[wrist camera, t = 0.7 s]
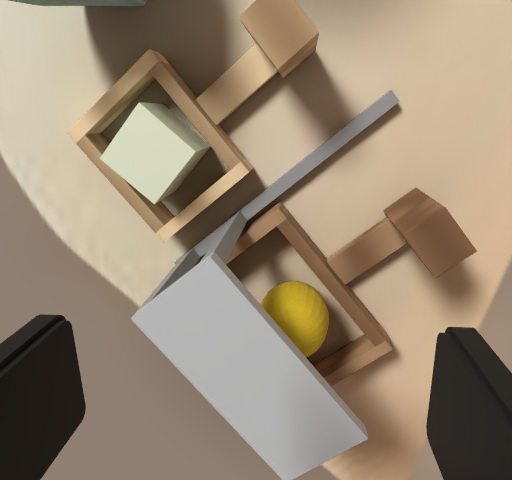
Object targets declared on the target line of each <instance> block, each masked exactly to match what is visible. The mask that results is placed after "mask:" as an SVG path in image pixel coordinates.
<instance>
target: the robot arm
mask: <svg viewBox="0 0 512 480" xmlns="http://www.w3.org/2000/svg"><path fill="white" fill-rule="evenodd" d="M85 408H86V406H85V400H84V394H83V388H82V382H81V376H80V371H79V365H78V359H77V353H76V347H75V342H74V336H73V330H72V325H71V323H70V322H69V321H66V319H65V317H64V316H62V315H38V316H36V317H35V318H34V319H32V320H31V321H30V322H28V323H27V324H26V325H24V326H23V327H22V328H21V329H19V330H18V331H17V332H15V333H14V334H13V335H11V336H10V337H9V338H7V339H6V340H5V341H4V342H2V343H1V344H0V480H40V479H41V478H42V476H43V475H44V474H45V472H46V471H47V469H48V468H49V466H50V465H51V464H52V462H53V461H54V460H55V458H56V457H57V455H58V454H59V452H60V451H61V450H62V448H63V447H64V445H65V444H66V443H67V441H68V440H69V438H70V437H71V436H72V434H73V433H74V431H75V430H76V428H77V427H78V426H79V424H80V423H81V422H82V420H83V418H84V415H85ZM427 436H428V440H429V443H430V446H431V448H432V451H433V454H434V456H435V459H436V461H437V464H438V466H439V469H440V471H441V474H442V477H443V479H444V480H512V373H511V372H510V371H509V370H508V368H507V367H506V366H505V365H504V363H503V362H502V361H501V360H500V358H499V357H498V356H497V355H496V354H495V352H494V351H493V350H492V349H491V348H490V346H489V345H488V344H487V343H486V341H485V340H484V339H483V338H482V336H481V335H480V334H479V333H478V331H477V330H476V329H475V328H464V327H448V328H447V329H446V331H445V333H439V334H438V337H437V343H436V352H435V360H434V368H433V376H432V384H431V393H430V401H429V409H428V417H427Z"/></svg>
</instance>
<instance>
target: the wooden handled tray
mask: <svg viewBox="0 0 512 480" xmlns="http://www.w3.org/2000/svg"><path fill="white" fill-rule="evenodd" d="M384 212H385V214H386V215H387V216H388V217H386V218H385V219H383V220H382V221H380V222H379V223H377V224H376V225H375V226H373V227H372V228H370V229H369V230H367V231H366V232H365V233H363V234H362V235H360V236H359V237H357V238H356V239H355V240H353V241H352V242H350V243H349V244H347V245H346V246H345V247H343V248H342V249H340V250H339V251H337V252H336V253H335V254H333V255H332V256H330V257H329V258H327V259H326V257H325V256H324V255H323V254H322V252H321V251H320V250H319V249H318V247H317V246H316V245H315V244H314V242H313V241H312V240H311V239H310V237H309V236H308V235H307V234H306V233H305V231H304V230H303V229H302V228H301V226H300V225H299V224H298V223H297V221H296V220H295V219H294V218H293V216H292V215H291V214H290V213H289V211H288V210H287V209H286V208H285V206H284V205H283V204H282V203H281V202H279V203H277V204H276V205H275V206H274V207H272V208H271V209H270V210H268V211H267V212H266V213H265V214H263V215H262V216H261V217H259V218H258V219H257V220H256V221H254V222H253V223H252V224H250V225H249V226H248V227H247V228H245V229H244V230H243V231H242V232H241V234H240V236H239V238H238V240H237V242H236V244H235V246H234V248H233V250H232V252H231V254H230V256H229V258H228V260H227V262H226V264H227V263H229V262H230V261H231V260H233V259H234V258H235V257H237V256H238V255H239V254H241V253H242V252H243V251H245V250H246V249H247V248H248V247H250V246H251V245H252V244H254V243H255V242H256V241H258V240H259V239H260V238H262V237H263V236H264V235H266V234H267V233H268V232H270V231H271V230H272V229H274V228H275V227H276V226H277V228H278V229H279V230H280V231H281V232H282V234H283V235H284V236H285V237H286V239H287V240H288V241H289V242H290V243H291V245H292V246H293V247H294V248H295V250H296V251H297V252H298V253H299V254H300V256H301V257H302V258H303V259H304V261H305V262H306V263H307V264H308V265H309V267H310V268H311V269H312V270H313V272H314V273H315V274H316V275H317V276H318V278H319V279H320V280H321V281H322V282H323V284H324V285H325V286H326V287H327V289H328V290H329V291H330V292H331V293H332V295H333V296H334V297H335V298H336V300H337V301H338V302H339V303H340V304H341V306H342V307H343V308H344V309H345V311H346V312H347V313H348V314H349V315H350V317H351V318H352V319H353V320H354V322H355V323H356V324H357V325H358V326H359V328H360V329H361V330H362V331H363V333H364V335H363V336H361V337H360V338H358V339H356V340H355V341H353V342H351V343H350V344H348V345H347V346H345V347H343V348H342V349H340V350H339V351H337V352H335V353H334V354H332V355H330V356H329V357H327V358H326V359H324V360H322V361H321V362H319V363H318V364H316V365H314V368H315V369H316V370H317V371H318V372H319V373H320V375H321V376H322V377H323V378H324V379H325V380H326V381H327V383H328V384H329V385H330V386H332V385H334V384H335V383H337V382H339V381H340V380H342V379H344V378H345V377H347V376H349V375H351V374H352V373H354V372H356V371H357V370H359V369H361V368H362V367H364V366H366V365H367V364H369V363H371V362H372V361H374V360H376V359H377V358H379V357H381V356H383V355H384V354H386V353H388V352H389V351H391V350H393V349H392V346H391V343H390V341H389V338H388V336H387V333H386V332H385V331H384V329H383V328H382V327H381V326H380V324H379V323H378V322H377V321H376V319H375V318H374V317H373V316H372V314H371V313H370V312H369V311H368V309H367V308H366V307H365V306H364V304H363V303H362V302H361V301H360V300H359V298H358V297H357V296H356V295H355V293H354V292H353V291H352V290H351V288H350V287H349V286H348V285H347V283H348V282H350V281H351V280H353V279H354V278H356V277H357V276H359V275H360V274H362V273H363V272H365V271H366V270H368V269H369V268H371V267H372V266H374V265H375V264H377V263H378V262H380V261H381V260H383V259H384V258H386V257H387V256H389V255H390V254H392V253H393V252H395V251H396V250H398V249H399V248H401V247H402V246H404V245H405V244H407V243H408V244H409V245H410V247H411V248H412V249H413V250H414V252H415V253H416V254H417V256H418V257H419V258H420V259H421V261H422V262H423V263H424V264H425V266H426V267H427V268H428V269H429V271H430V272H431V273H432V274H433V276H434V277H435V278H436V277H437V276H439V275H440V274H442V273H443V272H445V271H447V270H448V269H450V268H451V267H453V266H455V265H456V264H458V263H459V262H461V261H463V260H464V259H466V258H467V257H469V256H471V255H472V254H474V253H475V252H477V250H476V249H475V248H474V246H473V245H472V244H471V242H470V241H469V239H468V238H467V237H466V235H465V234H464V232H463V231H462V230H461V228H460V227H459V226H458V224H457V223H456V221H455V220H454V219H453V217H452V216H451V214H450V213H449V212H448V210H447V209H446V208H445V207H444V206H442V205H441V204H439V203H438V202H436V201H435V200H433V199H432V198H430V197H429V196H428V195H426V194H425V193H423V192H422V191H420V190H419V189H417V188H415V189H413V190H412V191H410V192H409V193H408V194H406V195H405V196H403V197H402V198H401V199H399V200H398V201H396V202H395V203H393V204H392V205H391V206H389V207H388V208H386V209H385V210H384ZM226 264H225V265H226Z"/></svg>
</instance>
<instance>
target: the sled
mask: <svg viewBox="0 0 512 480" xmlns="http://www.w3.org/2000/svg"><path fill="white" fill-rule="evenodd" d="M239 19H240V20H241V22H242V23H243V25H244V26H245V28H246V29H247V30H248V32H249V33H250V35H251V36H252V38H253V39H254V41H255V42H256V44H255V45H254V46H252V47H251V48H250V49H249V50H248V51H247V52H246V53H245V54H244V55H243V56H242V57H241V58H240V59H238V60H237V61H236V62H235V63H234V64H233V65H232V66H231V67H230V68H229V69H228V70H227V71H226V72H224V73H223V74H222V75H221V76H220V77H219V78H218V79H217V80H216V81H215V82H214V83H213V84H212V85H211V86H209V87H208V88H207V89H206V90H205V91H204V92H203V93H202V94H201V95H200V96H199V97H198V98H197V97H196V96H195V95H194V94H193V92H192V91H191V90H190V89H189V87H188V86H187V85H186V84H185V82H184V81H183V80H182V79H181V77H180V76H179V75H178V74H177V73H176V71H175V70H174V69H173V68H172V66H171V65H170V64H169V63H168V61H167V60H166V59H165V58H164V56H163V55H162V54H161V53H158V52H156V51H153V50H151V49H149V50H148V51H147V52H146V53H145V54H144V55H143V56H142V57H141V58H140V59H139V60H138V61H137V62H136V63H135V64H134V65H133V66H132V67H131V68H130V69H129V70H128V71H127V72H126V73H125V74H124V75H123V76H122V77H121V78H120V79H119V80H118V81H117V82H116V83H115V84H114V85H113V86H112V87H111V88H110V89H109V90H108V91H107V92H106V93H105V94H104V95H103V96H102V97H101V99H100V100H99V101H98V102H97V103H96V104H95V105H94V106H93V107H92V108H91V109H90V110H89V111H88V112H87V113H86V114H85V115H84V116H83V117H82V118H81V119H80V120H79V121H78V122H77V123H76V124H75V125H74V126H73V127H72V128H71V129H70V130H69V131H68V132H67V134H68V135H69V136H70V137H71V138H72V139H73V141H74V142H75V143H76V144H77V145H78V146H79V147H80V148H81V150H82V151H83V152H84V153H85V154H86V155H87V156H88V158H89V159H90V160H91V161H92V162H93V163H94V164H95V165H96V167H97V168H98V169H99V170H100V171H101V172H102V173H103V174H104V176H105V177H106V178H107V179H108V180H109V181H110V182H111V183H112V185H113V186H114V187H115V188H116V189H117V190H118V191H119V192H120V194H121V195H122V196H123V197H124V198H125V199H126V200H127V202H128V203H129V204H130V205H131V206H132V207H133V208H134V209H135V211H136V212H137V213H138V214H139V215H140V216H141V217H142V218H143V220H144V221H145V222H146V223H147V224H148V225H149V226H150V227H151V229H152V230H153V231H154V232H155V233H156V234H157V235H158V236H159V238H160V239H161V240H162V241H163V242H165V241H166V240H167V239H169V238H170V237H171V236H172V235H173V234H175V233H176V232H177V231H178V230H180V229H181V228H182V227H183V226H184V225H186V224H187V223H188V222H189V221H190V220H192V219H193V218H194V217H195V216H197V215H198V214H199V213H200V212H201V211H203V210H204V209H205V208H206V207H208V206H209V205H210V204H211V203H212V202H214V201H215V200H216V199H217V198H218V197H220V196H221V195H222V194H223V193H225V192H226V191H227V190H228V189H229V188H231V187H232V186H233V185H234V184H235V183H237V182H238V181H239V180H240V179H242V178H243V177H244V176H245V175H246V174H248V173H249V172H250V171H251V170H252V168H253V167H252V166H251V164H250V163H249V162H248V161H247V159H246V158H245V157H244V156H243V154H242V153H241V152H240V151H239V149H238V148H237V147H236V146H235V144H234V143H233V142H232V141H231V140H230V138H229V137H228V136H227V135H226V133H225V132H224V131H223V130H222V128H221V127H220V126H219V124H220V123H221V122H222V121H223V120H224V119H226V118H227V117H228V116H229V115H230V114H231V113H232V112H233V111H235V110H236V109H237V108H238V107H239V106H240V105H241V104H243V103H244V102H245V101H246V100H247V99H248V98H249V97H250V96H252V95H253V94H254V93H255V92H256V91H257V90H258V89H259V88H261V87H262V86H263V85H264V84H265V83H266V82H267V81H268V80H270V79H271V78H272V77H273V76H274V75H275V74H276V73H277V72H279V74H280V75H281V76H282V78H284V77H285V76H287V75H288V74H289V73H290V72H291V71H292V70H293V69H295V68H296V67H297V66H298V65H299V64H300V63H301V62H302V61H304V60H305V59H306V58H307V57H308V56H309V55H310V54H312V53H313V52H314V51H315V50H316V45H317V40H318V35H319V32H318V30H317V29H316V27H315V26H314V25H313V23H312V22H311V21H310V19H309V18H308V16H307V15H306V14H305V12H304V11H303V9H302V8H301V7H300V5H299V4H298V3H297V1H296V0H256V1H255V2H254V3H253V4H252V5H251V6H250V7H249V8H248V9H247V10H246V11H245V12H244V13H242V14H241V15H240V16H239ZM155 79H156V80H157V81H158V82H159V83H160V85H161V86H162V87H163V88H164V90H165V91H166V92H167V93H168V94H169V96H170V97H171V98H172V99H173V101H174V102H175V103H176V104H177V105H178V107H179V108H180V109H181V110H182V112H183V113H184V114H185V115H186V116H187V118H188V119H189V120H190V121H191V123H192V124H193V125H194V126H195V127H196V129H197V130H198V131H199V132H200V134H201V135H202V136H203V137H204V138H205V140H206V141H207V142H208V143H209V145H210V146H211V147H212V148H213V149H214V151H215V152H216V153H217V154H218V156H219V157H220V158H221V159H222V160H223V162H224V163H225V164H226V165H227V167H228V168H229V169H230V171H229V172H228V173H226V174H225V175H224V176H223V177H222V178H220V179H219V180H218V181H217V182H216V183H215V184H213V185H212V186H211V187H210V188H209V189H207V190H206V191H205V192H204V193H203V194H201V195H200V196H199V197H198V198H197V199H195V200H194V201H193V202H192V203H191V204H189V205H188V206H187V207H186V208H185V209H183V210H182V211H181V212H180V213H179V214H178V215H176V216H175V217H173V216H172V215H171V213H170V212H169V211H168V210H167V209H166V208H165V207H164V205H163V204H162V203H161V202H160V201H159V202H157V203H156V204H153V203H152V202H151V201H150V200H149V199H147V198H146V197H145V196H144V195H143V194H141V193H140V192H139V191H138V190H137V189H135V188H134V187H133V186H132V185H131V184H129V183H128V182H127V181H126V180H125V179H124V178H122V177H121V176H120V175H119V174H118V173H116V172H115V171H114V170H113V169H112V168H110V167H109V166H108V165H107V164H106V163H104V162H103V161H102V160H101V159H100V157H101V156H102V154H103V153H104V151H105V150H106V149H107V147H108V146H109V144H110V143H109V142H108V141H107V140H106V139H105V138H104V136H103V135H102V134H101V132H102V131H103V130H104V129H105V128H106V127H107V126H108V125H109V124H110V123H112V122H113V121H114V120H115V119H116V118H117V117H118V116H119V115H120V114H121V113H122V112H123V111H124V110H125V109H126V108H127V107H128V106H129V105H130V104H131V103H132V102H133V101H134V100H135V99H136V98H137V97H138V96H139V95H140V94H141V93H142V92H143V91H144V90H145V89H146V88H147V87H148V86H149V85H150V84H151V83H152V82H153V81H154V80H155Z"/></svg>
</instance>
